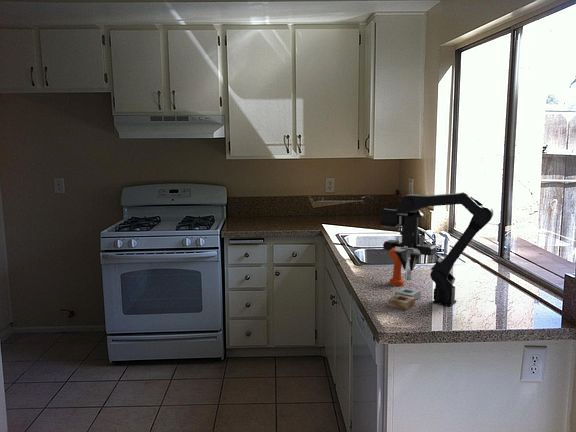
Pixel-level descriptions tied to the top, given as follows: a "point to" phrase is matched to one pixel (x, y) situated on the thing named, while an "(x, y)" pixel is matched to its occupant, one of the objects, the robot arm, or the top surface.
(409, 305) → the socket block
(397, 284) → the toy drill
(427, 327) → the top surface
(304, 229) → the top surface
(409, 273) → the silver metal rod
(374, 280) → the top surface
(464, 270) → the top surface
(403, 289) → the gray square ring
